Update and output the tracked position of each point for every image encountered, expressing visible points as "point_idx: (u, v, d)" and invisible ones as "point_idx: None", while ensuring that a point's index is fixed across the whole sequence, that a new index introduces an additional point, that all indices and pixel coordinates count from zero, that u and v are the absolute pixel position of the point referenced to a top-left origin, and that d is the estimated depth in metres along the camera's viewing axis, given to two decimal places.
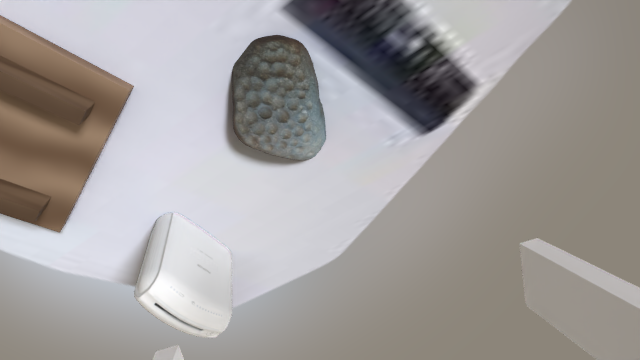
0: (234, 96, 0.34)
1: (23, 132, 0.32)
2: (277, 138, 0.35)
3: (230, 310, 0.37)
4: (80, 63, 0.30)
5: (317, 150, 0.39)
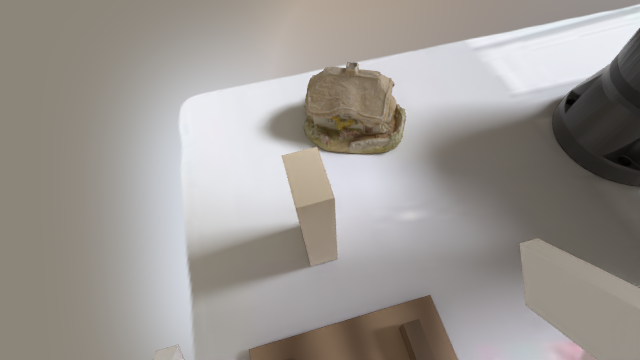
0: None
1: None
2: None
3: None
4: None
5: None
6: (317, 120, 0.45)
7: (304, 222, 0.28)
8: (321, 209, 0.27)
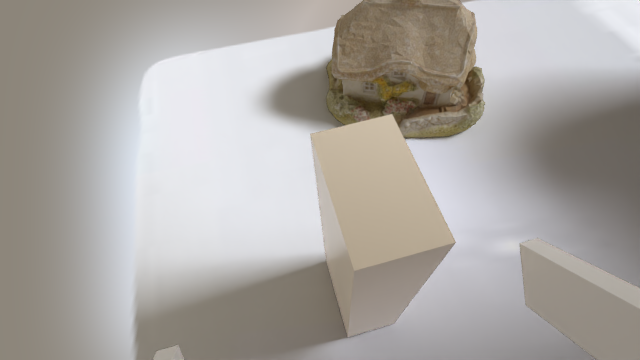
0: None
1: None
2: None
3: None
4: None
5: None
6: (349, 86, 0.29)
7: (362, 292, 0.12)
8: (411, 266, 0.11)
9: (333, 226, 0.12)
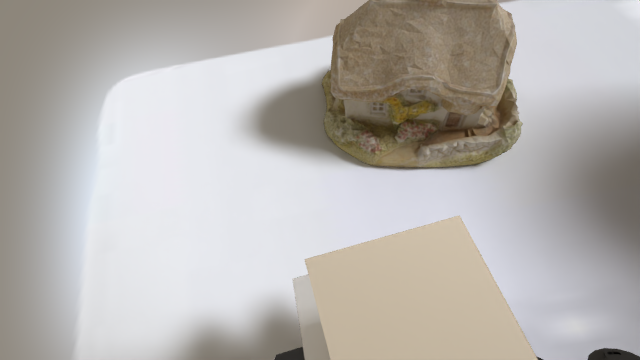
0: None
1: None
2: None
3: None
4: None
5: None
6: (353, 107, 0.23)
7: None
8: None
9: None
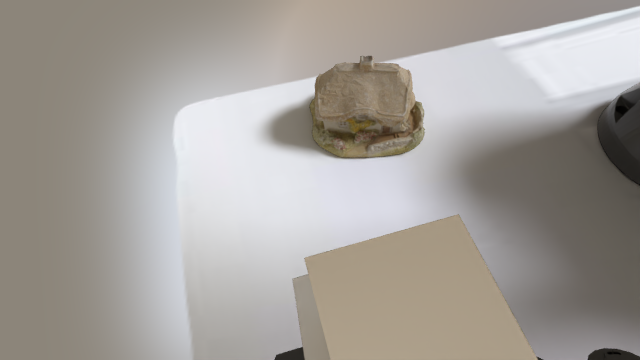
0: None
1: None
2: None
3: None
4: None
5: None
6: (328, 124, 0.40)
7: None
8: None
9: None
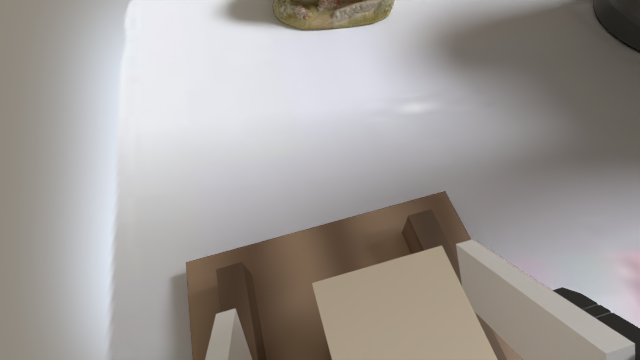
0: None
1: None
2: None
3: None
4: None
5: None
6: None
7: None
8: None
9: None
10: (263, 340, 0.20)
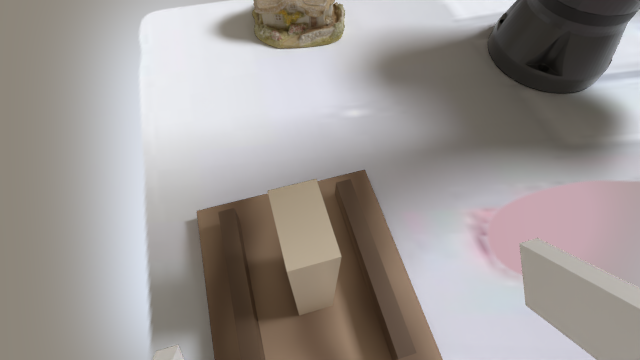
0: None
1: (327, 326, 0.30)
2: None
3: None
4: None
5: None
6: (266, 18, 0.48)
7: (296, 283, 0.21)
8: (321, 268, 0.20)
9: None
10: (246, 255, 0.33)
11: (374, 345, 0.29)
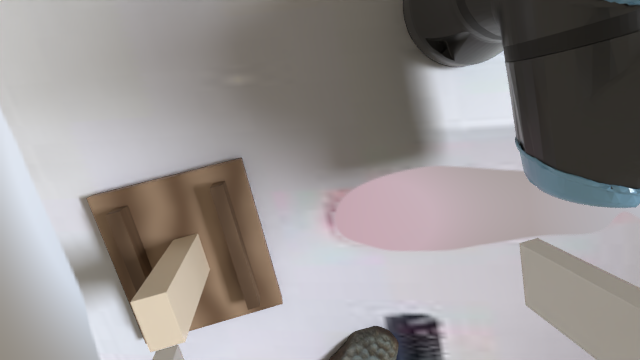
0: (346, 351, 0.50)
1: (206, 282, 0.44)
2: None
3: None
4: (274, 274, 0.46)
5: None
6: None
7: None
8: None
9: None
10: (139, 236, 0.42)
11: (238, 291, 0.45)
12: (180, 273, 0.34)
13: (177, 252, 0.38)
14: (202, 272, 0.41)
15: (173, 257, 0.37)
